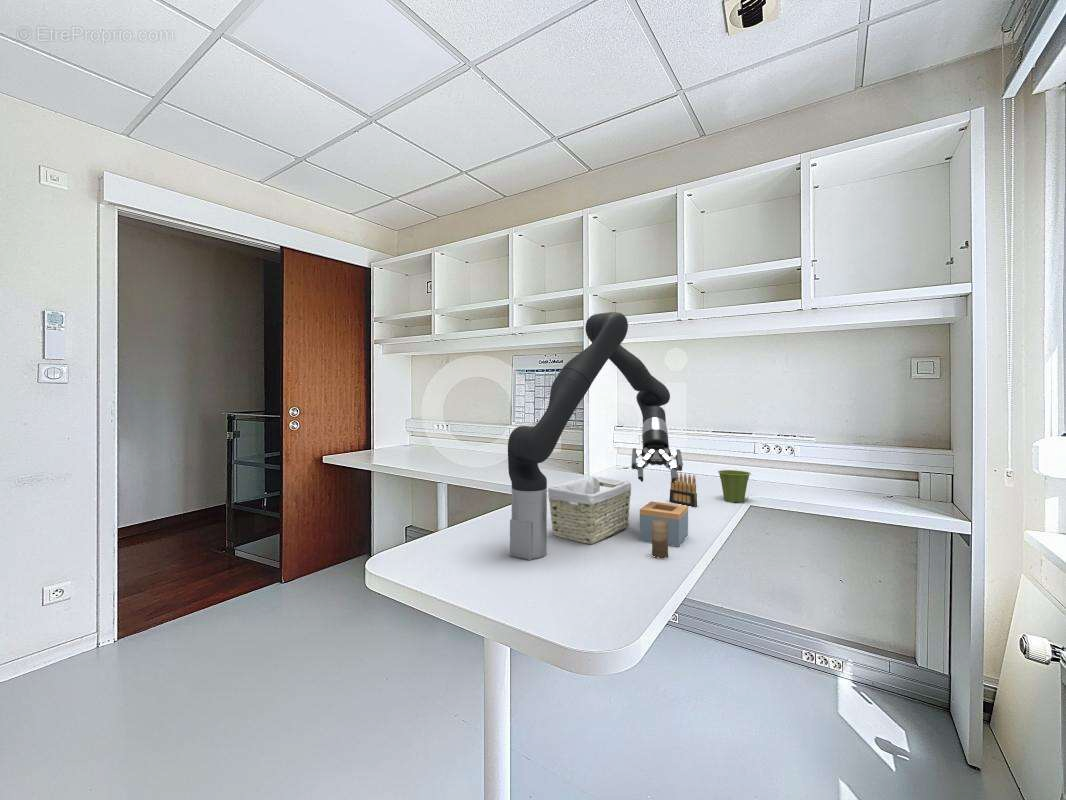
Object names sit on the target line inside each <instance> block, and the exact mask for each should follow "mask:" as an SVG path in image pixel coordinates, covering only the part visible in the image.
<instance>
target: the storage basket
mask: <svg viewBox="0 0 1066 800" xmlns="http://www.w3.org/2000/svg"><path fill="white" fill-rule="evenodd" d="M600 487H605V488H606V489H604V490H600ZM631 491H632V484H631V482H630V481H629V480H626V481H625V480H621V479H614V478H607V477H601V476H591V475H590V476H587V477H582V478H579V479H574V480H571V481H567V482H564V483H558V484H555V485H550V486H549V487H547V499H548V501H549V508H550V509H549V510H550V520H551V521H550V522H551V527H552V528H551V529H552V534H553V536H555V537H560V538H563V539H568V540H571V541H574V540H575V542H577V543H583V544H586V543H587V544H589V545H593V544H595V543H596V542H597V543H599V542H600V541H602V540H603V539H606V538H608V537H610V536H613V535H614V534H616V533H619V532H620V531H622V530H625V529H626V528H628V527H629V526H630V525H629V518H630V504H631V502H630V501H631V496H632V492H631Z"/></svg>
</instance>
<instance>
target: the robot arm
mask: <svg viewBox="0 0 1066 800" xmlns="http://www.w3.org/2000/svg"><path fill="white" fill-rule="evenodd" d="M584 327H585V333H586V336H587V338H588V340H589V341H590V342H591V343H590V344H589V345H588V346H587V347H586V348H585V349H584V350H582V351H580V353H578V354H577V355H575V356H574V357H573V358H571V359H570V360H569V361H567V363H566V364H564V366H563V367H562V368H561V370H560V371H559V373H558V374H557V376H556V377H555V379H554V380H553V382H552V384H551V387H550V392H549V393H550V394H549V402H548V406H547V408H546V410H545V412H544V413H543V415H542V416H541V418H540V419H539V421H537V423H536V424H535V425H534V426H529V425H528V426H527V425H520V426H517V427H515V428H514V429H513V430H511V431H512V432H510V435H509V437H508V440H507V463H508V464H507V465H508V466H507V469H508V475H509V479H510V481H511V518H510V520H509V556H511V557H514V558H519V559H523V560H529V561H531V560H534V559H539V558H542V557H545V556H546V555H547V553H548V552H547V550H548V548H547V542H548V540H547V537H548V535H547V534H548V533H547V526H548V522H547V518H548V517H547V512H548V510H547V509H548V506H547V505H548V503H547V502H548V500H547V499H548V481H547V479H548V478H547V476H546V475H544V473H543V472H542V471H541V469H540V467H539V465H538V464H541V463H543V462H545V461H546V460H548V458H549V457H550V456H551V455H552V454H553V452H554V450H555V447H556V446H557V445H558V442H559V439H560V438H561V435H562V433H563V431H564V429H565V428H566V426H567V424H568V423H569V420H570V419H571V417H572V416H573V414H574V412H576V409H577V407H578V406H579V404H580V403H581V401H582V400H583V399H584V397H585V395H586V394H587V392H588V391H589V389H590V388H591V386H592V384H593V382H594V381H595V380H596V378H597V376H598V375H599V374H600V372H601V370H602V369H603V367H604V366H605V364H606V363H607V362H608V360H610V361H611V363H612V364H613V365H614V366H615V367H616V368H617V369H618V370H619V371H620V373H621V374H622V375H623V376H624V377H625V379H626V381H627V382H628V383H629V385H630V386H631V388H632V389H633V390H634V391H636V392H637V394H636V397H635V399H636V402H637V404H638V407H639V409H640V411H641V415H642V429H641V430H642V432H641V433H642V435H641V437H642V438H641V439H642V450H638V449H637V448H636V447H634V448H632V450H631V451H632V452H631V466H630V467H631V469H632V470H637V478H638V480H639V481H640V482H642V483H643V482H644V469H645V468H647V467H648V466H649V465H650V466H655V465H656V466H664V467H666V468H667V469H668V470H669V471H670V477H671V479H670V482H671V481H672V483H674V482H675V481H676V480H677V472H682V471H683V467H684V463H683V458H682V451H681V449H676V451H675V450H674V451H671V450H670V445H669V435H668V434H669V433H668V427H667V420H666V419H667V418H666V412H665V410H664V408H663V407H661V406H665V405H667V404H668V403H669V402H670V398H671V394H670V391H669V389H668V388H667V387H666V385H665V384H664V383H662V382H661V381H660V380H658V379H657V378H656V377H655V376H653V375H652V374H651V373H650V371H649V370H648V368H647V367H646V365H645V364H644V362H642V360H641V359H640V358H639V357H637V356H636V355H634V354H633V353H632V352H630V351H629V350H627V349H626V348H625V347H623V346H622V345H621V344H622V343H623V342H624V340H625V338H626V336H627V333H628V328H629V322H628V319H627V316H625V314H623V313H621V312H615V311H612V312H611V311H610V312H602V313H596V314H595V313H594V314H592V315H591V316H589V317H588V318H587V320H586V323H585V326H584ZM640 456H641V457H642V459H641V460H640V462H639V463H637V459H638V458H640ZM671 457H673V458H674V460H675V461H676V463H675V462H674V461H673V460H672V458H671Z"/></svg>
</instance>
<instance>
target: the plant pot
mask: <svg viewBox="0 0 1066 800" xmlns="http://www.w3.org/2000/svg"><path fill="white" fill-rule="evenodd" d="M717 473H718V474H719V479H720V483H721V488H722V489H721V490H722V495H723V500H724V501H725V500H726V502H728V501H730V503H739V502H741V503H744V502H745V499H746V492H747V486H748V481H749V478H750V475H751V474H752V473H751V472H749V471H744V470H734V469H733V470H732V469H724V470H723V469H722V470H718V471H717Z"/></svg>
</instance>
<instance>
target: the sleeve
mask: <svg viewBox="0 0 1066 800" xmlns="http://www.w3.org/2000/svg"><path fill="white" fill-rule="evenodd" d="M655 519H662V520H666V521H668V546H669V545H674V546H673V547H675V546H679V545H680V544H681V543H682V542H683V541H686V539H687V538H688V537H689V506H684V505H679V504H675V503H668V502H667V503H666V502H659V501H658V502H657V501H651V500H650V502H648V503H647V504H645V505H643V506H642V507H641V508H639V541H640V540H641V541H642V542H646V541H649V542H648V543H651V542H652V520H655ZM687 536H688V537H687ZM686 537H687V538H686ZM685 538H686V539H685ZM641 541H640V542H641ZM683 543H684V542H683ZM683 543H682V544H683ZM682 544H681V545H682ZM681 545H680V546H681ZM680 546H679V547H680Z"/></svg>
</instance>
